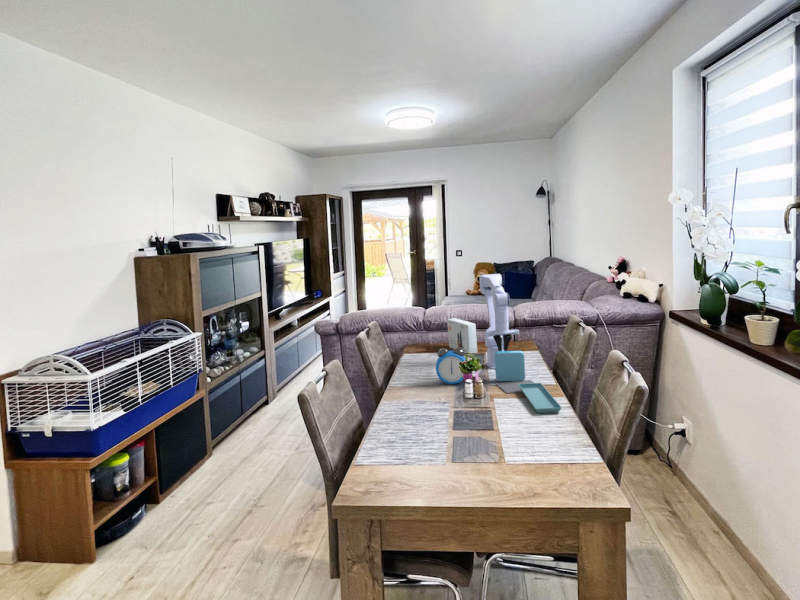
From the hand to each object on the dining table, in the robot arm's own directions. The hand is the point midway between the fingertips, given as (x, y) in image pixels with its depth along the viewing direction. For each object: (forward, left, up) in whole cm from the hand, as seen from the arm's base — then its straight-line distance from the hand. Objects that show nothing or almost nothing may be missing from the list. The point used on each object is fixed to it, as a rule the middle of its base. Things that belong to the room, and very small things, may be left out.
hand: (502, 351), depth 225 cm
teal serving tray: (+36, +1, -10) cm, 38 cm away
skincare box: (-51, -5, -11) cm, 52 cm away
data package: (+8, 0, -10) cm, 13 cm away
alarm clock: (+3, -24, -11) cm, 26 cm away
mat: (+18, 0, -10) cm, 21 cm away
